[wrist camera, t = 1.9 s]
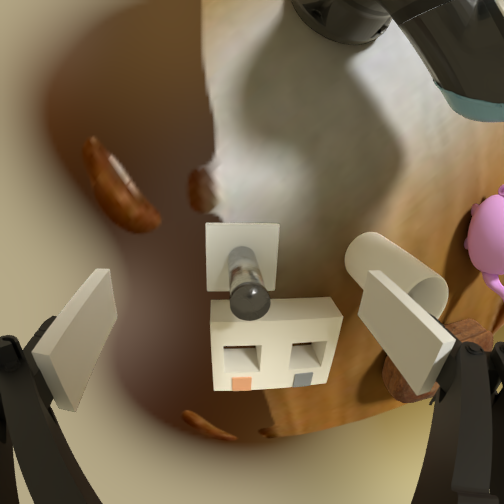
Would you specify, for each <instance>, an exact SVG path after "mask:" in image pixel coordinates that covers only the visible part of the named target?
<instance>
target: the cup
mask: <svg viewBox="0 0 504 504" xmlns="http://www.w3.org/2000/svg"><path fill="white" fill-rule="evenodd" d="M345 267H346V270H347V272H348V273H349V274H350V275H351V277H352V278H353V279H354V280H355V281H356V282H357V283H358V284H359V285H360V287H361V288H362V289H363V290H364V287H365V282H366V278H367V273H368V270H380V271H381V272H382V273H384V274H385V275H386V276H387V277H388V278H389V279H390V280H392V281H393V282H394V283H395V284H396V285H397V286H398V287H400V288H401V289H402V290H403V291H404V292H405V293H406V294H408V295H409V296H410V297H411V298H412V299H413V300H414V301H415V302H416V303H417V304H419V305H420V306H421V307H422V308H423V309H424V310H425V311H426V312H428V313H430V314H431V315H433V316H435V317H436V318H437V319H438V318H439V317H440V315H441V314H442V312H443V310H444V308H445V306H446V303H447V300H448V285H447V283H446V281H445V280H444V279H443V278H442V277H441V276H440V275H439V274H437V273H436V272H434V271H433V270H432V269H430V268H429V267H428V266H426V265H425V264H423V263H422V262H421V261H419V260H418V259H416V258H415V257H413V256H412V255H410V254H409V253H408V252H406V251H405V250H403V249H402V248H400V247H399V246H397V245H396V244H394V243H393V242H391V241H390V240H388V239H387V238H385V237H384V236H382V235H381V234H379V233H376V232H366V233H363V234H361V235H359V236H357V237H356V238H355V239H354V240H353V241H352V242H351V243H350V245H349V246H348V248H347V251H346V254H345Z"/></svg>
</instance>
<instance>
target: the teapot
mask: <svg viewBox="0 0 504 504" xmlns="http://www.w3.org/2000/svg"><path fill="white" fill-rule="evenodd" d="M498 194H499V195H493V196H490V197H489V198H487V199H486V200H484V201H483V202H482V203H481V204H480V205H478V204H476V203H475V204H473V206H472V208H471V215H472V216H473V217H472V219H471V222H470V225H469V230H468V237H467V238H466V239H465V241H464V248H465V249H468V251H469V256H470V259H471V262H472V263H473V265H474V266H475V268H477V269H478V270H480V271H482V275H483V279H484V281H485V283H486V285H487V286H488V287H489V288H490V289H492V290H493V291H494V292H496V293H497V294H498V295H500V296H501V298H502V299H503V301H504V287H503V286H502V284H501V283H500V281H499V277H498V275H501V274H504V185H501V186H500V188H499V190H498Z"/></svg>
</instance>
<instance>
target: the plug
mask: <svg viewBox="0 0 504 504" xmlns="http://www.w3.org/2000/svg"><path fill="white" fill-rule="evenodd" d="M228 272H229V286H230V309H231V311H232V313H233V314H234V315H235V316H236V317H237V318H239V319H241V320H245V321H253V320H257V319H260V318H261V317H263V316H264V315H265V314H266V313H267V312H268V310H269V308H270V304H271V301H270V297H269V294H268V291H267V289H266V287H265V284H264V281H263V277H262V274H261V271H260V268H259V264H258V261H257V258H256V255H255V253H254V251H253V250H252V249H250V248H249V247H246V246H239V247H236V248H234V249H233V250H232V251H231V252H230V253H229V255H228Z"/></svg>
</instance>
